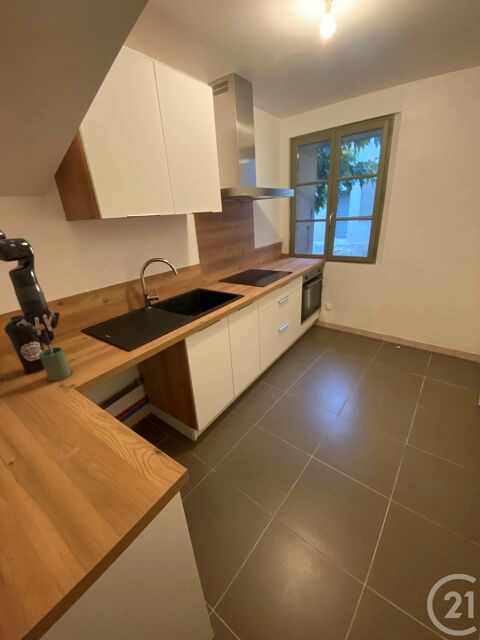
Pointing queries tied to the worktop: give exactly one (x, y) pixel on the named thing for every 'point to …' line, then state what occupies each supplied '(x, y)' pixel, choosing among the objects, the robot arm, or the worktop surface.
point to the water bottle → (25, 345)
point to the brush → (47, 339)
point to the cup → (55, 364)
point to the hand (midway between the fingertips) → (47, 341)
